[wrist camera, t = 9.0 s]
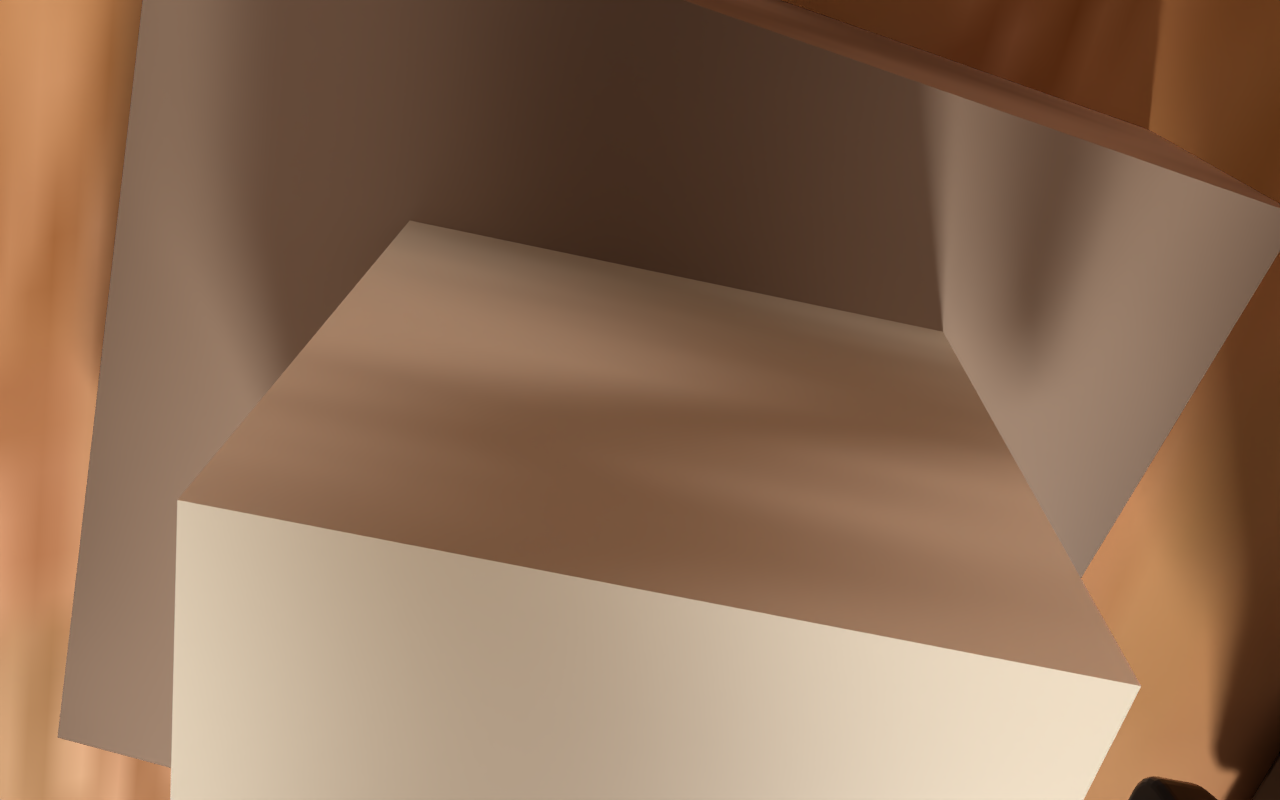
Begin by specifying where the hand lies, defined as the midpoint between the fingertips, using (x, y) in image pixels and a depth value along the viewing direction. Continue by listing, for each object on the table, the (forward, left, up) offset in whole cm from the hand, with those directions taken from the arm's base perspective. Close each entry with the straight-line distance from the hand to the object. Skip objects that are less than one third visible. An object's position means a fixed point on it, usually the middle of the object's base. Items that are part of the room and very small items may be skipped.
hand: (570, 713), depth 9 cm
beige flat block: (0, 0, -7) cm, 7 cm away
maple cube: (0, 0, -3) cm, 3 cm away
